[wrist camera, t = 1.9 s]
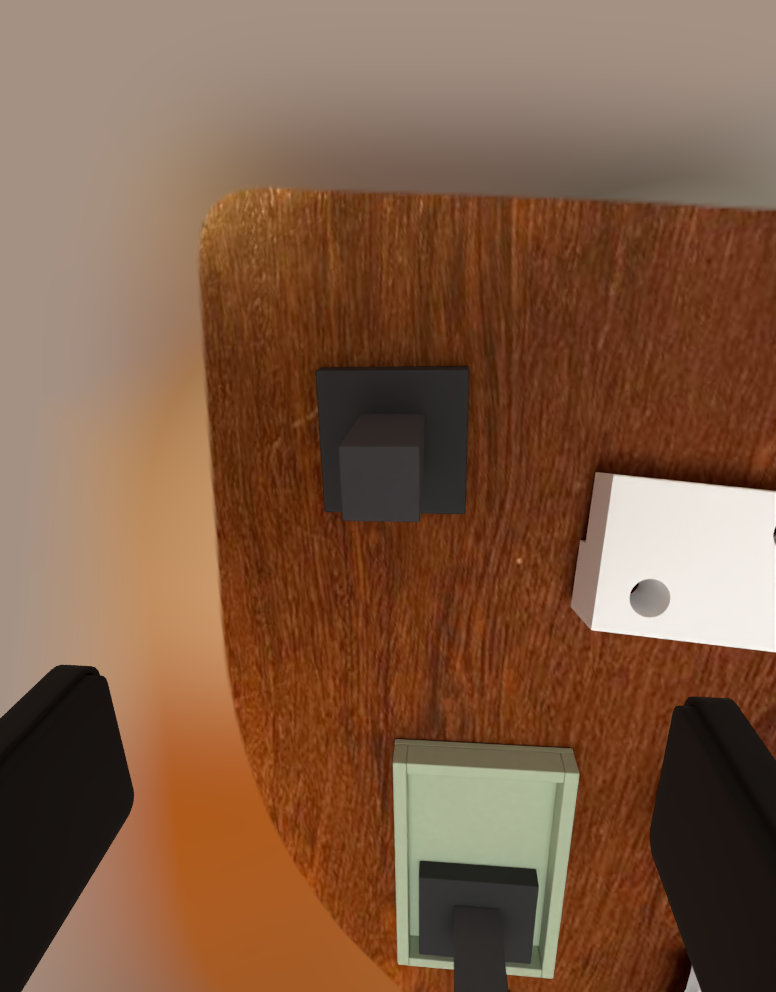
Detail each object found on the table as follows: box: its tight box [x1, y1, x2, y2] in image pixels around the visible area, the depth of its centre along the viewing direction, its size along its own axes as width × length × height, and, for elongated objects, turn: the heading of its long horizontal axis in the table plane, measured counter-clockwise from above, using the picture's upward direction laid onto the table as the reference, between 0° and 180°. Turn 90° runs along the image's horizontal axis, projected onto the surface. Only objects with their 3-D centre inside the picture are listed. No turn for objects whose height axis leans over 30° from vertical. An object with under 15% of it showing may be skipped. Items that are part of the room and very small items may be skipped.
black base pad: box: [419, 861, 539, 992], centre depth 35 cm, size 8×8×7 cm
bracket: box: [571, 472, 776, 652], centre depth 24 cm, size 13×7×8 cm, turn 85°
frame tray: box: [393, 739, 579, 979], centre depth 36 cm, size 11×18×2 cm, turn 1°
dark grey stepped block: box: [316, 366, 469, 522], centre depth 24 cm, size 7×7×7 cm
